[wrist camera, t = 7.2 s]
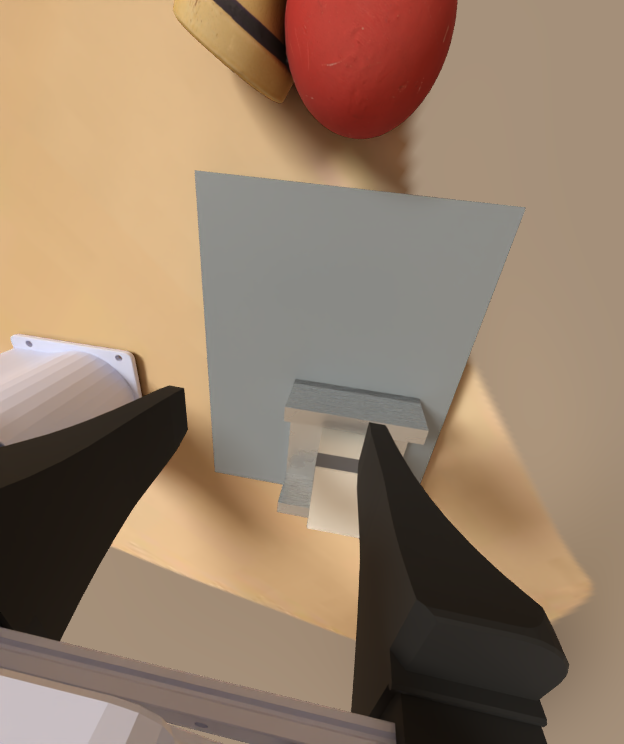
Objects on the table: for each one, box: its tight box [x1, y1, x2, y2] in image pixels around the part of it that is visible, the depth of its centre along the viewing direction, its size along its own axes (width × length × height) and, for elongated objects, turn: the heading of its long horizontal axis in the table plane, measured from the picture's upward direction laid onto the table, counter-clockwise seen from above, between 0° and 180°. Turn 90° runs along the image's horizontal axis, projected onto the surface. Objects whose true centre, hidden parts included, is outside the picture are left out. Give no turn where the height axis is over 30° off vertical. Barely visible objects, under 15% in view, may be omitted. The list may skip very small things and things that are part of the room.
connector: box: [307, 428, 365, 538], centre depth 19 cm, size 4×5×5 cm
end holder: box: [277, 379, 429, 518], centre depth 21 cm, size 8×9×3 cm
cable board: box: [195, 171, 525, 484], centre depth 21 cm, size 16×21×1 cm
